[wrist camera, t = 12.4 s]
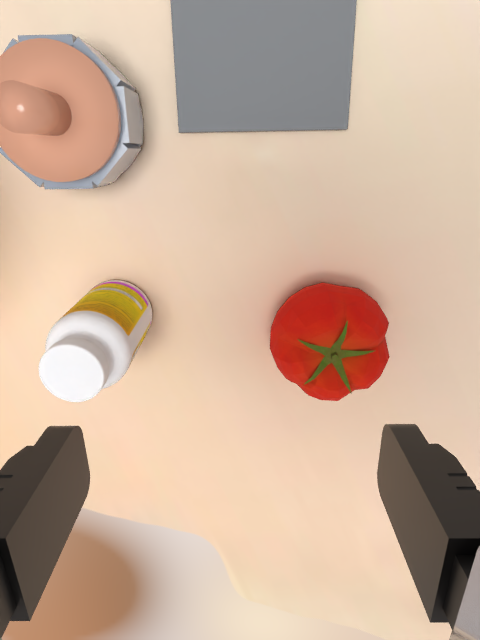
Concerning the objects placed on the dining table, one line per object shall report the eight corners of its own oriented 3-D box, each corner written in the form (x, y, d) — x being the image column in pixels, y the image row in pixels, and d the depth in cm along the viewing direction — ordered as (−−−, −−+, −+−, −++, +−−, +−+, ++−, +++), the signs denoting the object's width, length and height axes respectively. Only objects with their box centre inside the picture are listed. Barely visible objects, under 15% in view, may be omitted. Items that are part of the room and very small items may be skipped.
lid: (111, 40, 29) (78, 12, 23) (128, 179, 32) (103, 185, 27) (-19, 44, 29) (-84, 18, 23) (10, 182, 33) (-40, 189, 27)
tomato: (279, 266, 40) (286, 290, 33) (391, 285, 41) (421, 313, 34) (258, 365, 44) (261, 405, 37) (360, 381, 45) (382, 423, 38)
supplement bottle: (81, 278, 41) (14, 330, 29) (150, 277, 41) (112, 330, 29) (91, 341, 43) (33, 414, 32) (156, 341, 43) (123, 413, 31)
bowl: (137, 51, 34) (118, 33, 29) (149, 182, 38) (134, 187, 33) (12, 53, 34) (-29, 36, 29) (36, 184, 38) (4, 189, 33)
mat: (360, -83, 31) (362, -88, 30) (345, 129, 36) (347, 129, 35) (166, -78, 31) (165, -82, 30) (179, 132, 36) (178, 132, 36)
